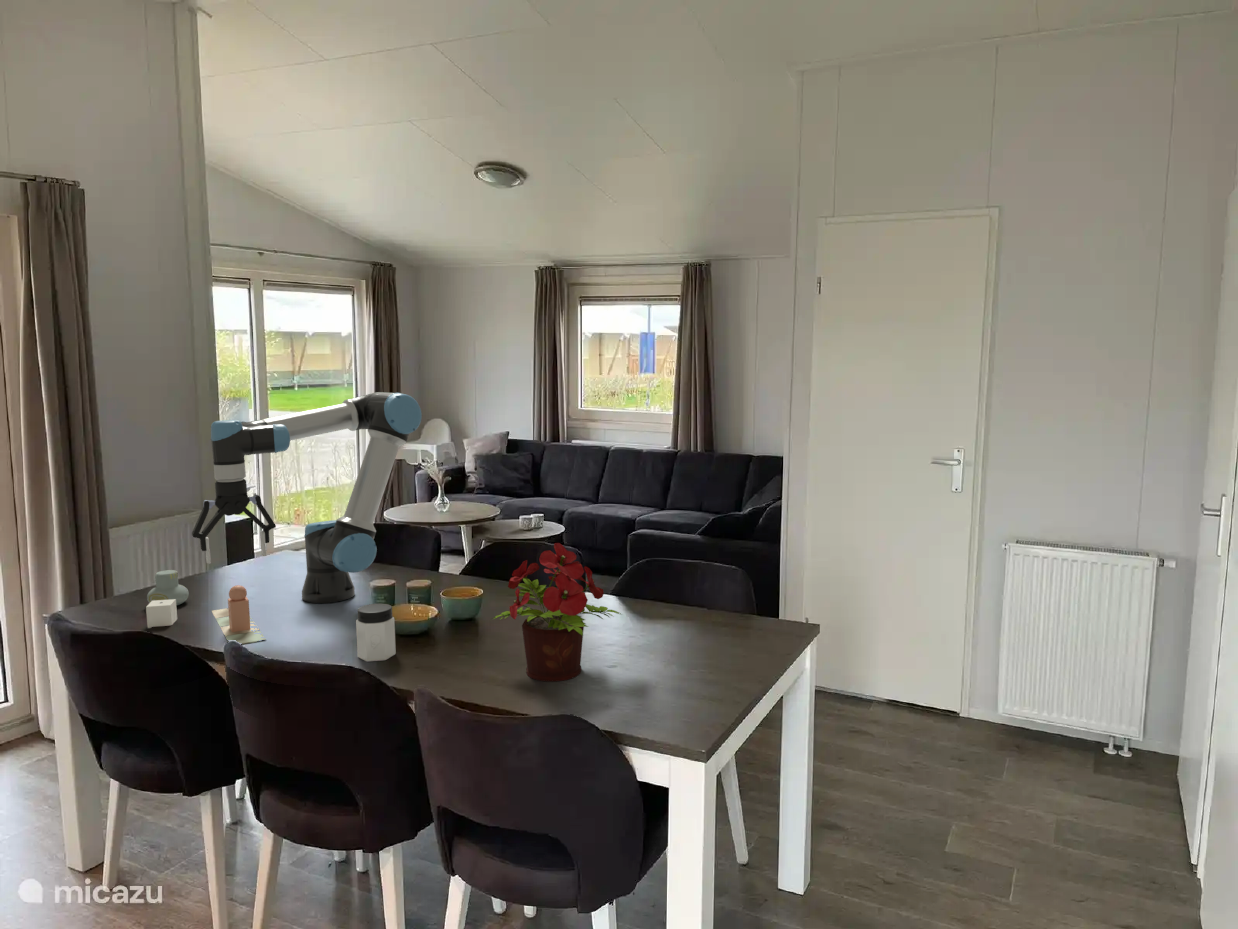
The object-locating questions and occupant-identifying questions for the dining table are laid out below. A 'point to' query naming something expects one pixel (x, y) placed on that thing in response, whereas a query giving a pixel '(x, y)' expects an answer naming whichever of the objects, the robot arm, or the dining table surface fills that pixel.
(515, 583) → the potted plant
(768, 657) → the dining table surface
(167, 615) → the die
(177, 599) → the air freshener
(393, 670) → the dining table surface
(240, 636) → the track
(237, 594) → the orange-brown peg figure
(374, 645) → the jar
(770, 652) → the dining table surface
